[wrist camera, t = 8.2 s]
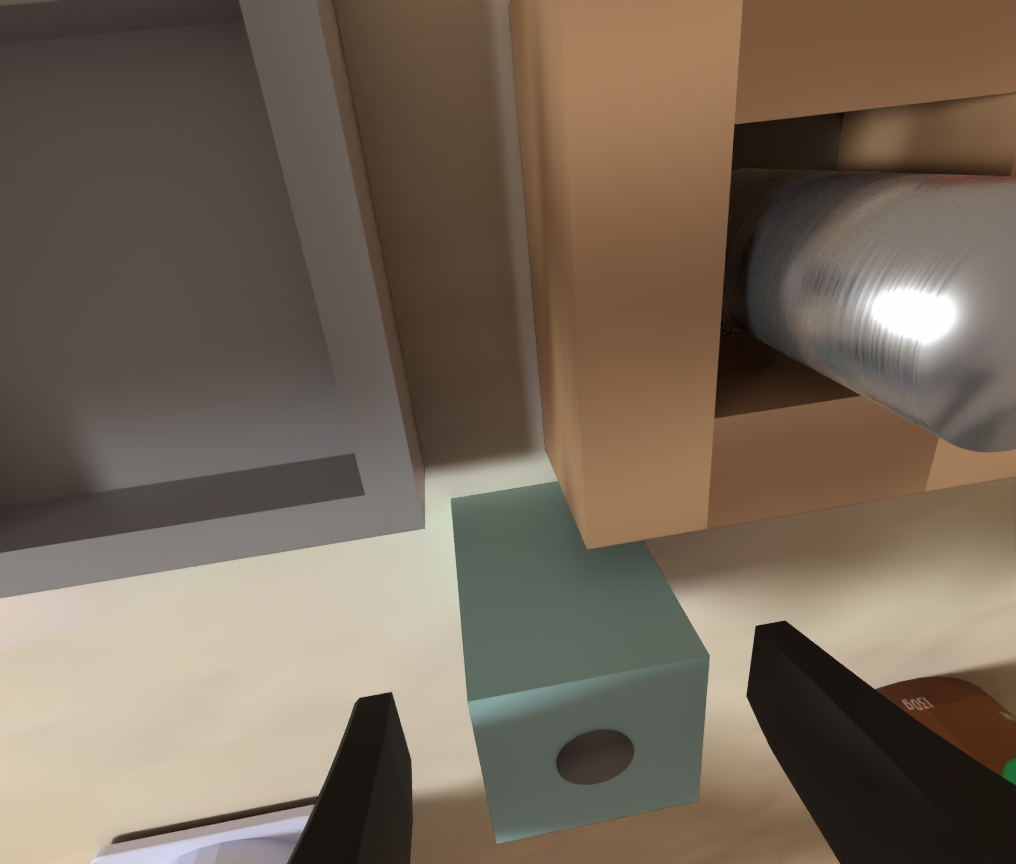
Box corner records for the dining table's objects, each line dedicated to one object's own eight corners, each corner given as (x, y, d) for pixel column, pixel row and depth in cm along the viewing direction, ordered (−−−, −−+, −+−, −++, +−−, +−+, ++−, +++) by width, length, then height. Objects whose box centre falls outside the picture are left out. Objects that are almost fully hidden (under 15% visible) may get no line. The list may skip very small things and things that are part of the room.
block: (607, 591, 16) (698, 803, 11) (471, 615, 16) (496, 846, 11) (604, 473, 15) (711, 657, 9) (450, 498, 14) (468, 704, 9)
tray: (424, 468, 14) (424, 528, 11) (-8, 536, 13) (-98, 614, 11) (323, -54, 9) (291, -123, 7) (-345, 2, 8) (-618, -54, 6)
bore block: (883, 397, 15) (1033, 473, 11) (545, 449, 14) (587, 549, 10) (977, -41, 11) (1259, -142, 7) (508, 4, 10) (556, -84, 6)
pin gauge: (792, 297, 13) (1129, 423, 7) (668, 322, 13) (897, 475, 7) (802, 156, 12) (1234, 153, 6) (664, 181, 12) (945, 210, 5)
